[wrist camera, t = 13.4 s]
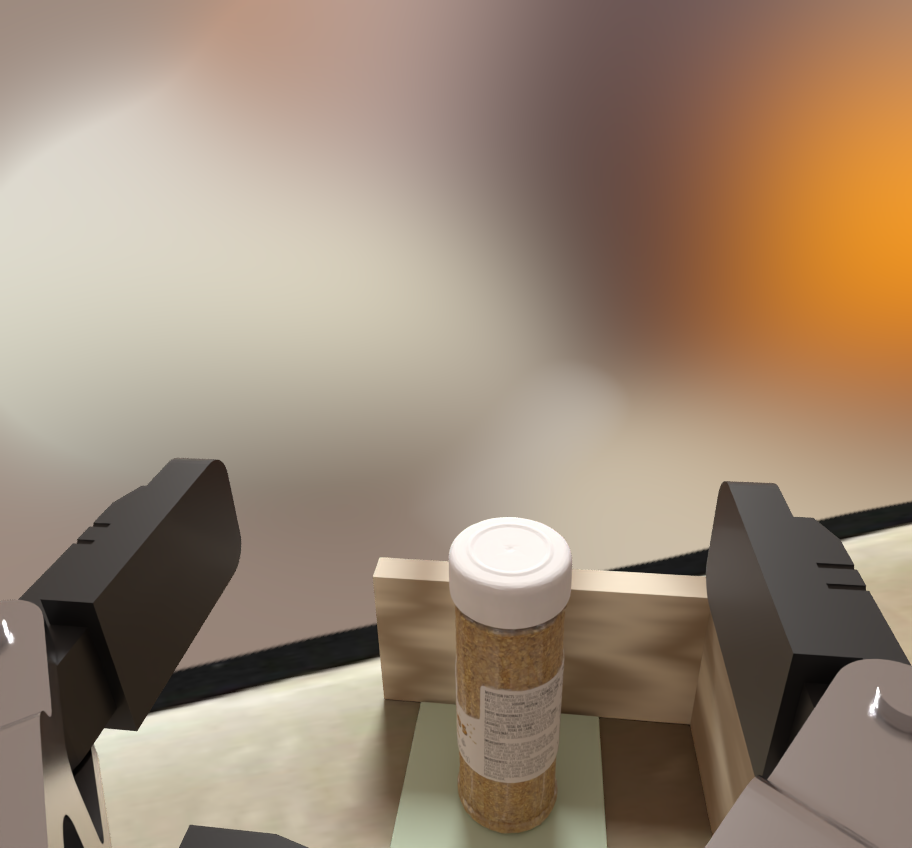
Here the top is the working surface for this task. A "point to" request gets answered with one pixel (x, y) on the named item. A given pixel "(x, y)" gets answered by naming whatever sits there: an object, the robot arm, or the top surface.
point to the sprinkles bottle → (509, 668)
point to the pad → (454, 831)
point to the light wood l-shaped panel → (588, 657)
